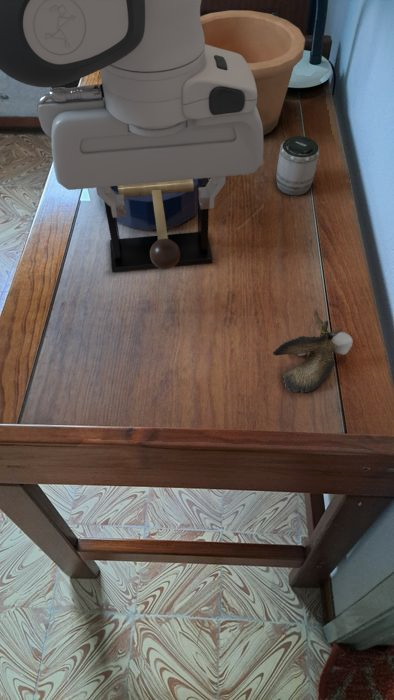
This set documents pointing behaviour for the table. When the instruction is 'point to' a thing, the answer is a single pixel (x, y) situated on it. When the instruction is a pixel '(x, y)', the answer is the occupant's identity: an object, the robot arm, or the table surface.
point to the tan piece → (160, 217)
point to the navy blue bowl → (174, 204)
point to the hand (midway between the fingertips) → (163, 209)
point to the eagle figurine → (313, 356)
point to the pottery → (259, 53)
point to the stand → (137, 250)
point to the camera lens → (297, 165)
